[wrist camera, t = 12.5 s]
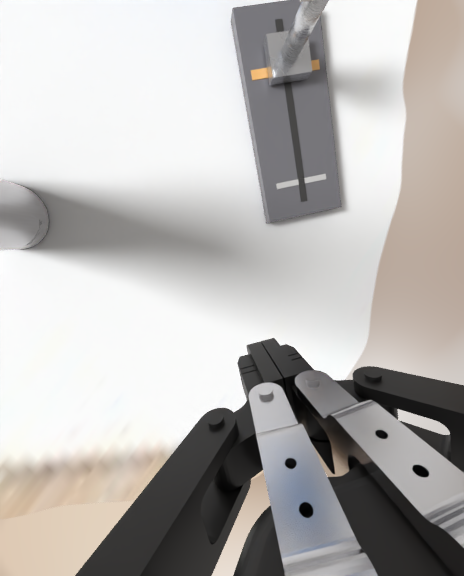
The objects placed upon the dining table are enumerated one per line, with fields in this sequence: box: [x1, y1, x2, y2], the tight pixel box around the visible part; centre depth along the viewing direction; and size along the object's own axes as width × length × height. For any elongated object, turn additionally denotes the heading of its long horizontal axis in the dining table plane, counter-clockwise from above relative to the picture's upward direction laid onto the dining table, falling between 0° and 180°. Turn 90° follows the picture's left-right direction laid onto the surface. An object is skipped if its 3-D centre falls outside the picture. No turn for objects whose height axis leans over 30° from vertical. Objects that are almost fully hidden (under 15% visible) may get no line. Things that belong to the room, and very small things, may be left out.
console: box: [231, 0, 341, 223], centre depth 36 cm, size 28×12×2 cm, turn 12°
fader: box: [263, 0, 328, 85], centre depth 28 cm, size 5×6×13 cm
